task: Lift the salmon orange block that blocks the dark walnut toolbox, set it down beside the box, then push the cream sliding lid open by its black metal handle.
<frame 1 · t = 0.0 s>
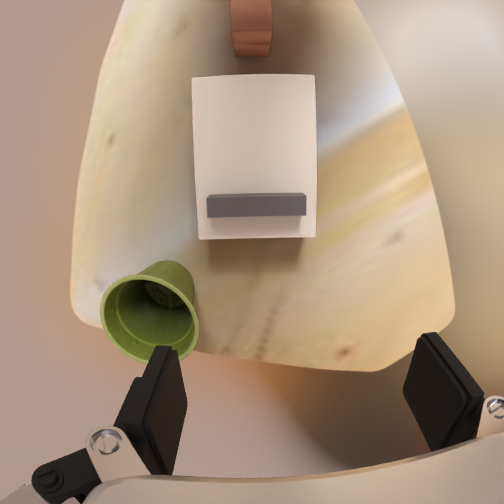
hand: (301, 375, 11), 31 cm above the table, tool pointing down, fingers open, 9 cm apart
plant pot: (170, 282, 44), on the table
toolbox lid: (255, 156, 32), point 7 cm above the table, slide at 0.0 cm
salmon orange block: (252, 42, 34), on the table
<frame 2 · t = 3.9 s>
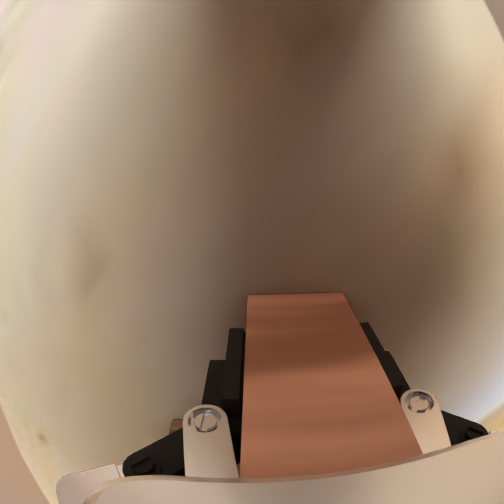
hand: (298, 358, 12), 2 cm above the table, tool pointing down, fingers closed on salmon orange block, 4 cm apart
salmon orange block: (294, 333, 14), on the table, touching gripper
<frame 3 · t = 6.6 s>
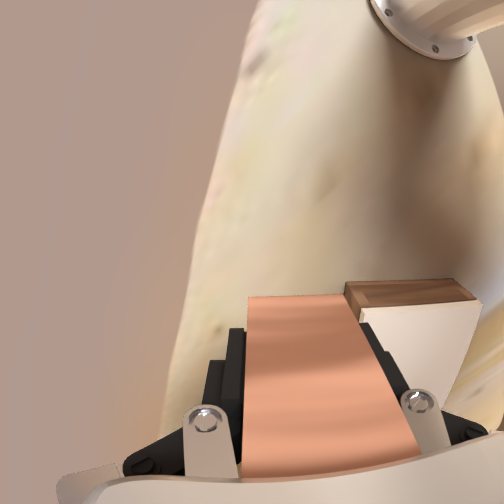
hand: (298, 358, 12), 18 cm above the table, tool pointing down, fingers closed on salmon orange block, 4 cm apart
toolbox: (388, 351, 33), on the table
toolbox lid: (409, 391, 26), point 7 cm above the table, slide at 0.0 cm
salmon orange block: (294, 335, 14), point 16 cm above the table, touching gripper
when the fingers open (3 cm above the table, at t = 9.7 s): salmon orange block drops 1 cm, on the table.
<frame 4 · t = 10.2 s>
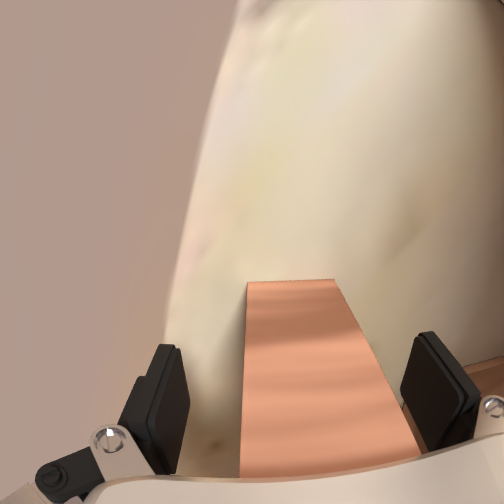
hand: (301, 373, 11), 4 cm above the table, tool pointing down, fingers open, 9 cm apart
toolbox: (447, 440, 20), on the table
salmon orange block: (290, 318, 15), on the table
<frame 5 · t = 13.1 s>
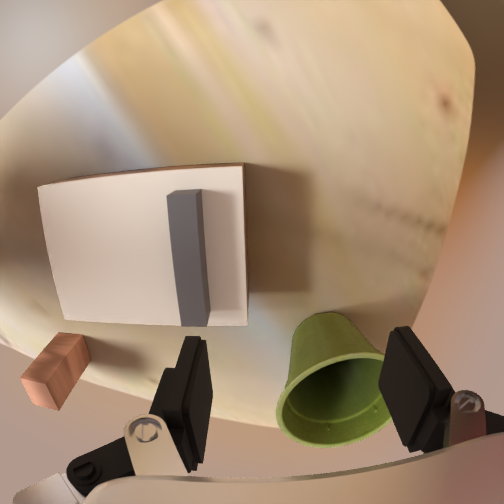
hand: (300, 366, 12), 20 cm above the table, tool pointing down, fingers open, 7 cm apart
toolbox: (155, 234, 31), on the table
plant pot: (322, 336, 35), on the table
toolbox lid: (130, 258, 24), point 7 cm above the table, slide at 0.0 cm
salmon orange block: (74, 346, 35), on the table
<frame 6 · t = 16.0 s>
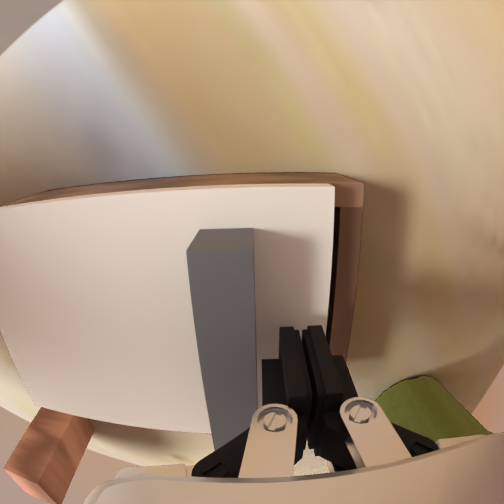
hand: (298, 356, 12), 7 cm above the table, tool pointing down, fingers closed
toolbox: (184, 283, 19), on the table
plant pot: (403, 402, 23), on the table
toolbox lid: (119, 347, 13), point 7 cm above the table, slide at 1.6 cm, touching gripper
salmon orange block: (71, 414, 24), on the table
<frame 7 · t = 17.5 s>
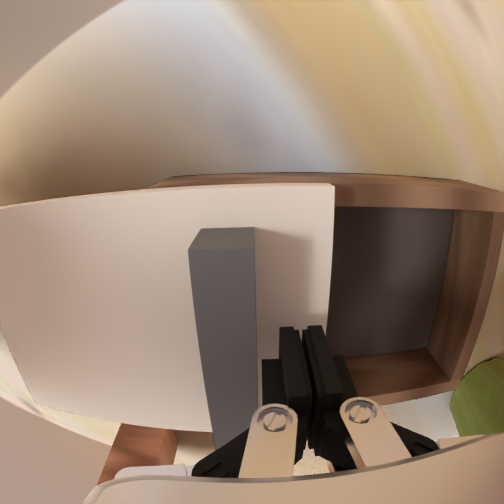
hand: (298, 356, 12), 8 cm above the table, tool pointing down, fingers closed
toolbox: (328, 279, 19), on the table
plant pot: (476, 383, 23), on the table
toolbox lid: (121, 346, 13), point 7 cm above the table, slide at 10.4 cm, touching gripper
salmon orange block: (152, 427, 24), on the table
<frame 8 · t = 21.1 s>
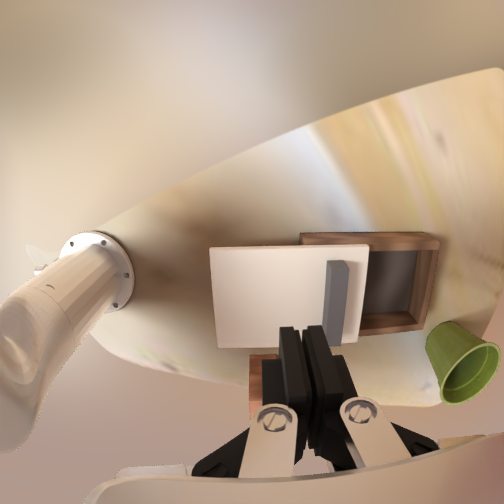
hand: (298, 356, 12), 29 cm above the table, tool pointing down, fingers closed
toolbox: (362, 277, 43), on the table
plant pot: (441, 337, 47), on the table
toolbox lid: (291, 304, 36), point 7 cm above the table, slide at 10.8 cm
salmon orange block: (263, 364, 48), on the table
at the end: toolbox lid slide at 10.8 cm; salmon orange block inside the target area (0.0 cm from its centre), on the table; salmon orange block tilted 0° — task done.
